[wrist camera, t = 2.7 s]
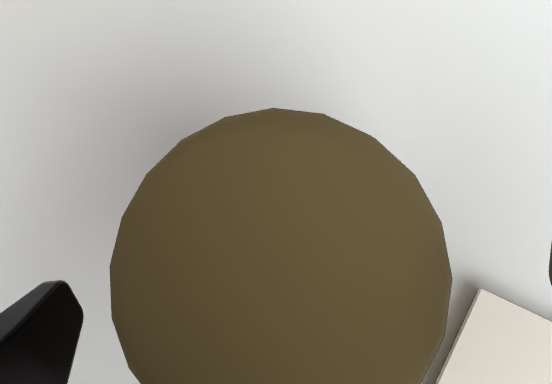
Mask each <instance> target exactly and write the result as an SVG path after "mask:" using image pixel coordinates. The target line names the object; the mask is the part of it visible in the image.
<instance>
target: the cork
mask: <svg viewBox="0 0 552 384" xmlns="http://www.w3.org/2000/svg"><path fill="white" fill-rule="evenodd" d="M451 285H452V274H451V269H450V264H449V259H448V253H447V248H446V243H445V238H444V232H443V227H442V223H441V221H440V219H439V217H438V215H437V214H436V212H435V210H434V208H433V206H432V205H431V203H430V201H429V199H428V197H427V196H426V194H425V192H424V190H423V188H422V187H421V185H420V183H419V181H418V180H417V178H416V176H415V175H414V174H413V173H412V172H411V171H410V170H409V169H408V168H407V167H406V166H405V165H404V164H402V163H401V162H400V161H399V160H398V159H397V158H396V157H395V156H394V155H393V154H392V153H391V152H389V151H388V150H387V149H386V148H385V147H384V146H383V145H382V144H381V143H380V142H379V141H377V140H376V139H375V138H373V137H372V136H370V135H368V134H366V133H364V132H362V131H360V130H357V129H355V128H353V127H351V126H349V125H346V124H344V123H342V122H340V121H338V120H335V119H333V118H331V117H329V116H327V115H325V114H320V113H311V112H303V111H294V110H286V109H277V108H271V109H266V110H261V111H256V112H250V113H245V114H240V115H234V116H229V117H225V118H223V119H221V120H219V121H217V122H215V123H213V124H211V125H209V126H208V127H206V128H204V129H202V130H200V131H198V132H196V133H194V134H192V135H190V136H188V137H187V138H185V139H183V140H181V141H180V142H179V143H178V144H177V145H176V146H175V147H174V148H173V149H172V150H171V151H170V152H169V153H168V154H167V155H166V156H165V157H164V158H163V159H162V160H161V161H160V162H159V163H158V164H157V165H156V166H154V167H153V168H152V169H151V170H150V171H149V172H148V173H147V174H146V176H145V178H144V180H143V181H142V183H141V185H140V187H139V188H138V190H137V192H136V193H135V195H134V197H133V199H132V200H131V202H130V204H129V206H128V207H127V209H126V211H125V213H124V214H123V216H122V219H121V223H120V227H119V231H118V235H117V239H116V243H115V247H114V251H113V255H112V259H111V263H110V286H111V311H112V320H113V323H114V326H115V329H116V332H117V335H118V338H119V340H120V343H121V346H122V349H123V352H124V355H125V358H126V361H127V364H128V367H129V369H130V370H131V371H132V373H133V374H134V375H135V377H136V378H137V379H138V381H139V382H140V383H141V384H421V382H422V380H423V378H424V376H425V374H426V372H427V370H428V368H429V366H430V364H431V362H432V360H433V358H434V356H435V354H436V352H437V350H438V348H439V346H440V344H441V342H442V340H443V338H444V336H445V328H446V321H447V314H448V307H449V299H450V292H451Z"/></svg>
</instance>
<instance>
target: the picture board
mask: <svg viewBox="0 0 552 384" xmlns="http://www.w3.org/2000/svg"><path fill="white" fill-rule="evenodd" d="M435 384H552V322H551V321H549V320H546V319H544V318H542V317H540V316H538V315H536V314H534V313H532V312H530V311H528V310H525V309H523V308H521V307H519V306H517V305H515V304H513V303H511V302H509V301H506V300H504V299H502V298H500V297H498V296H496V295H494V294H492V293H490V292H488V291H485V290H483V289H478V291H477V293H476V296H475V298H474V300H473V302H472V304H471V306H470V309H469V311H468V313H467V315H466V317H465V320H464V322H463V324H462V326H461V328H460V330H459V333H458V335H457V337H456V339H455V341H454V343H453V346H452V348H451V350H450V352H449V354H448V357H447V359H446V361H445V363H444V365H443V367H442V370H441V372H440V374H439V376H438V378H437V380H436V383H435Z"/></svg>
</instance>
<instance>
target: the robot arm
mask: <svg viewBox="0 0 552 384" xmlns="http://www.w3.org/2000/svg"><path fill="white" fill-rule="evenodd" d="M549 277H550V282H551V285H552V243H551V253H550V263H549ZM82 324H83V310H82V308H81V306H80V304H79V302H78V300H77V299H76V297H75V295H74V293H73V292H72V290H71V288H70V286H69V285H68V283H66V282H65V281H62V280H58V281H48V282H44V283H42V284H40V285H39V286H37V287H36V288H35V289H33V290H32V291H31V292H29V293H28V294H26V295H25V296H24V297H22V298H21V299H20V300H18V301H17V302H15V303H14V304H13V305H11V306H10V307H9V308H7V309H6V310H4V311H3V312H2V313H0V384H67V383H68V379H69V375H70V371H71V367H72V363H73V359H74V355H75V351H76V347H77V343H78V340H79V336H80V332H81V328H82Z"/></svg>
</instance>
